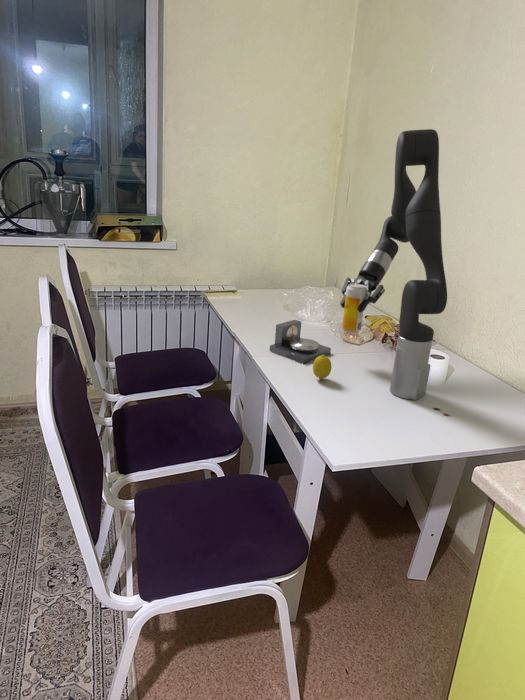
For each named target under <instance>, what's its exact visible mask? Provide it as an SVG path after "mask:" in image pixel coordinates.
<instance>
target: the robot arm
mask: <svg viewBox="0 0 525 700" xmlns="http://www.w3.org/2000/svg"><path fill="white" fill-rule="evenodd" d="M398 135H399V136H398V137H397V141H396V144H395V145H396V147H395V156H394V157H395V158H394V159H395V162H394V164H395V165H394V190H393V191H394V192H393V198H392V205H391V211H390V212H391V213H390V214H391V215H389V216H388V217H387V218H386V219H385V220H384V222H383V225H382V229H381V234H380V238H379V240H378V242H377V244H376V246H374V249H373V251H372V252H371V253H370V254H369V256H368V257H367V259H366V260H365V262H364V264H363V265H362V267H361V269H360V270H359V271H358V275H357V276H356V277H355V278H353V279H352V278H350V277H349V276H347V277H346V278H345V281H344V283H343V285H342V288H341V290H340V292H341V293H342V296H343V297H342V299H341V300H340V306H341V308H343V309H344V306H345V297H346V288H347V287H348V285H349V284H361V285H364V286H365V289H366V294H365V297H364V300H363V301H362V302H361V304H360V305H359V306H358V311H359V312H362V311H363V312H364V311H365V310H366V308H367V306H368V305H369V304H373V305H374V304H376V303H377V301H378V300H379V299H380V298H381V296H382V295H383V294H384V293H385V292H386V289H385V287H384V285H383V284H381V282H382V280H384V279H383V278H384V277H385V276H386V273H387V272H388V270H389V268H390V267H391V264H392V262H393V260H394V259H395V257H396V255H397V253H398V252H399V245H398V243H397V242H396V241H398V242H399V243H403V244H404V243H410V245H411V247H412V248H413V250H414V251H415V253H416V254H417V255H418V257H419V258H420V260H421V263H422V264H423V267H424V268H423V269H424V271H425V276H426V277H425V278H426V279H410V280H408V281H407V282H406V283H405V284H404V287H403V290H402V294H401V302H400V305H401V306H400V313H399V320H398V321H399V322H398V323H399V324H398V325H399V329H398V330H399V331H398V335H397V336H398V337H397V343H396V349H395V356H394V361H393V368H392V374H391V380H390V385H389V392H390V393H391V394H392V395H394V396H396V397H398V398H402V399H407V400H412V401H417V400H419V399H420V398H423V397H424V396H425V395H426V392H427V386H428V381H429V377H430V371H431V367H432V366H431V364H430V363H429V362H430V361H429V360H430V355H431V349H432V345H433V340H434V335H435V334H434V333H435V331H434V328H432V327H431V326H429V325H428V324H426V323H423V322H421V321H419V320H420V315H440V314H442V313H443V312H444V311H445V310H446V306H447V303H448V288H447V278H446V274H445V267H444V265H445V264H444V259H443V246H442V218H441V217H442V216H441V203H440V189H439V187H440V186H439V185H440V184H439V175H440V174H439V170H440V169H439V168H440V167H439V166H440V162H439V161H440V140H439V139H440V138H439V134H438V132H437V130H435V129H431V128H429V129H427V128H426V129H413V130H411V129H410V130H404V131H401V132H400V134H398ZM410 166H411V167H415V166H424V168H425V169H424V170H425V171H424V176H423V178H422V180H421V182H420V184H419V186H418V188H417V190H416V187H415V185H414V184H413V182H412V181H411V179H410V177H409V175H408V172H407V167H410ZM372 292H373V293H372Z"/></svg>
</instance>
